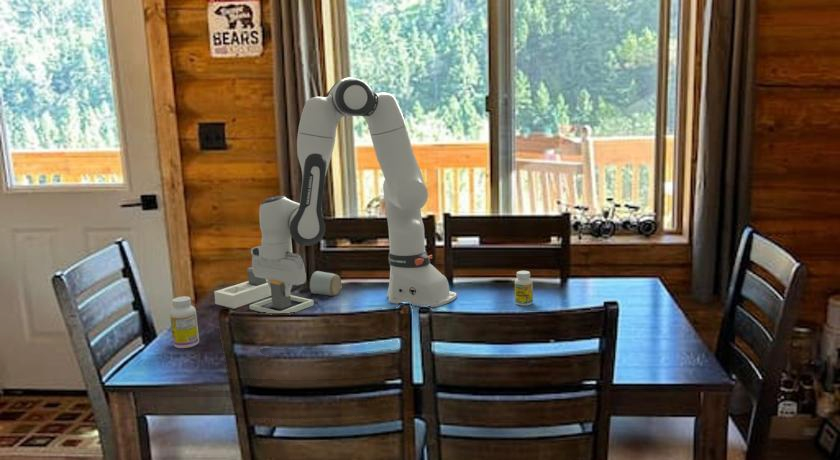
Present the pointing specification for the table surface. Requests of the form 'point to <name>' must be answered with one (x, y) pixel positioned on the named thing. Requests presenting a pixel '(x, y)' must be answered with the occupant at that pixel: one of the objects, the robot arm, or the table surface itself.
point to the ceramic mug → (325, 283)
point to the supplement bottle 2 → (523, 289)
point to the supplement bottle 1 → (184, 323)
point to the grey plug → (279, 295)
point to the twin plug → (254, 278)
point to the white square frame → (303, 305)
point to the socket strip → (241, 294)
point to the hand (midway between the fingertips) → (280, 294)
